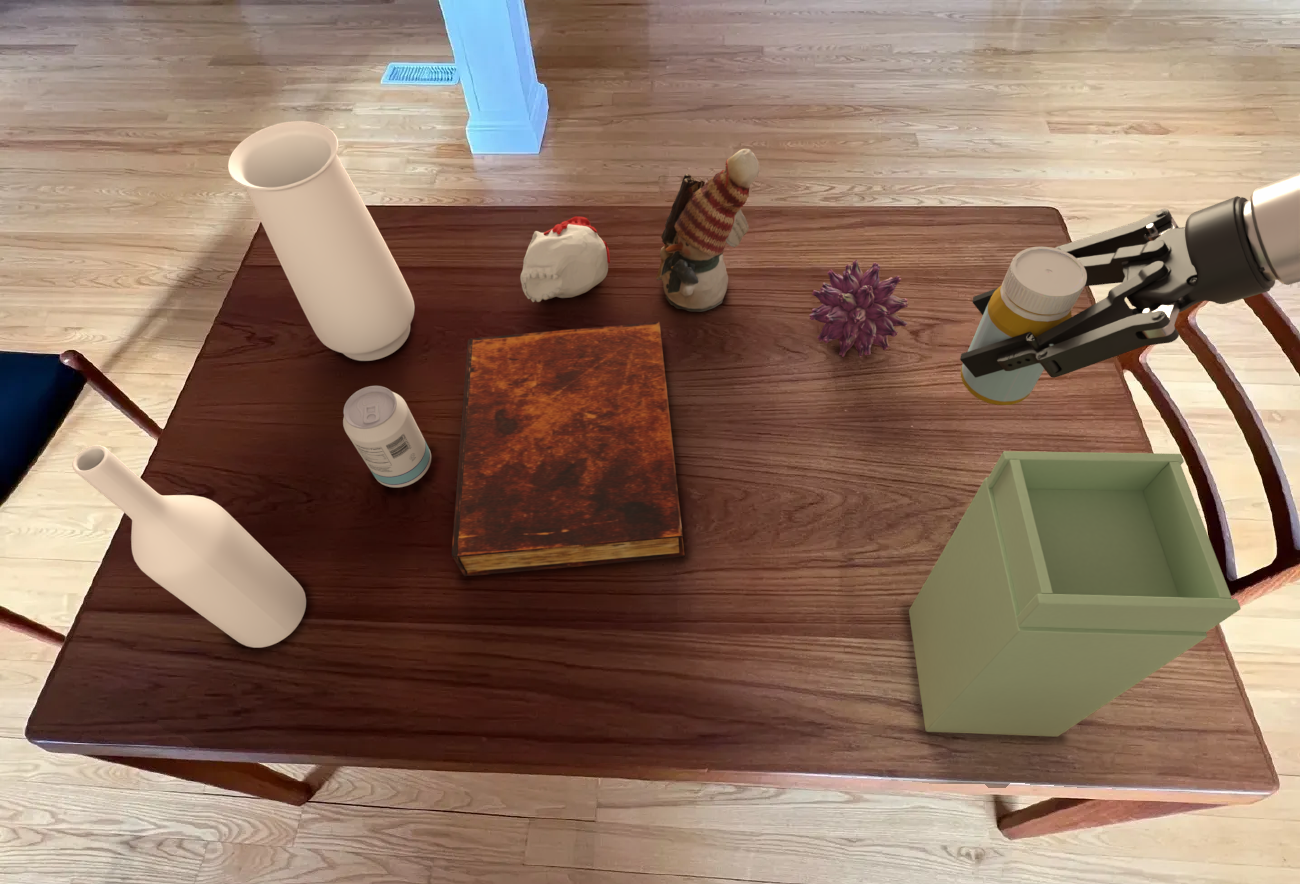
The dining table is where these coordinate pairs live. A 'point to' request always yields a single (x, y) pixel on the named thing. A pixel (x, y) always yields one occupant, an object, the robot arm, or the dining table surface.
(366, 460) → the beverage can
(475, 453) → the book
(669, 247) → the figurine
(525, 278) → the white and red skull
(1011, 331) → the bottle
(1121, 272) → the robot arm
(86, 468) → the bottle
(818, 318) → the flower
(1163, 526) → the stand
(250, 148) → the vase
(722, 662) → the dining table surface
